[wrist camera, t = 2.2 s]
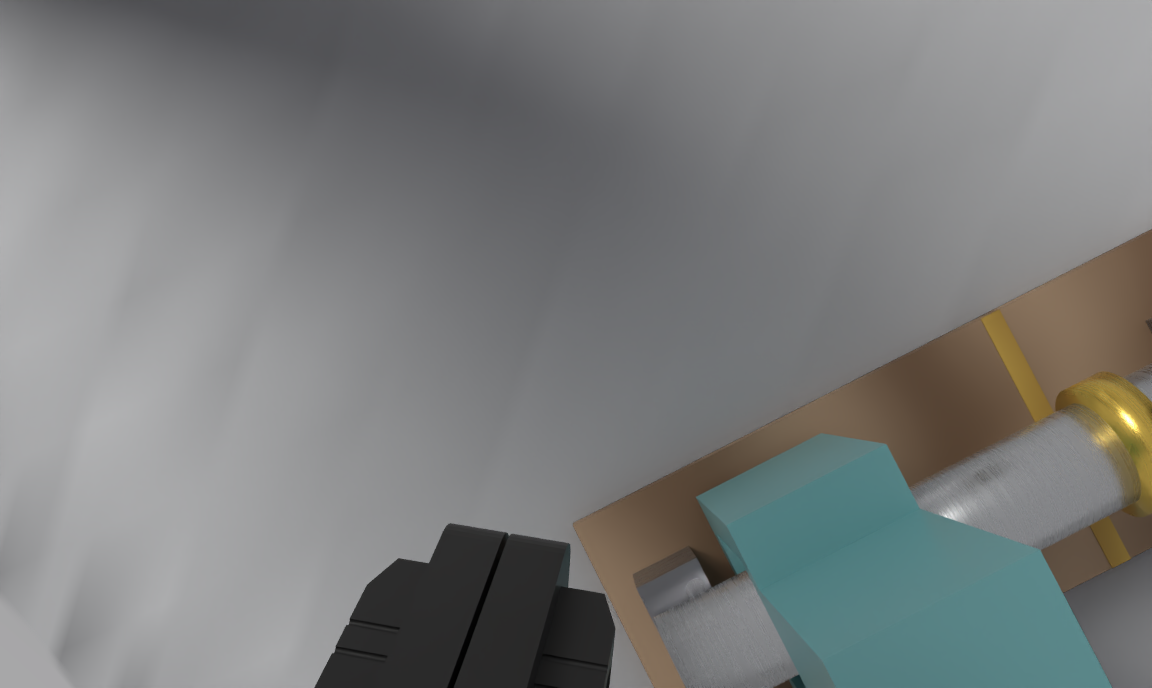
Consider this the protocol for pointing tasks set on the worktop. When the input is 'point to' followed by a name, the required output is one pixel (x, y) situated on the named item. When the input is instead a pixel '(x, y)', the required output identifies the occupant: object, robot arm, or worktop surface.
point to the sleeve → (891, 579)
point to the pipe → (959, 492)
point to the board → (912, 430)
